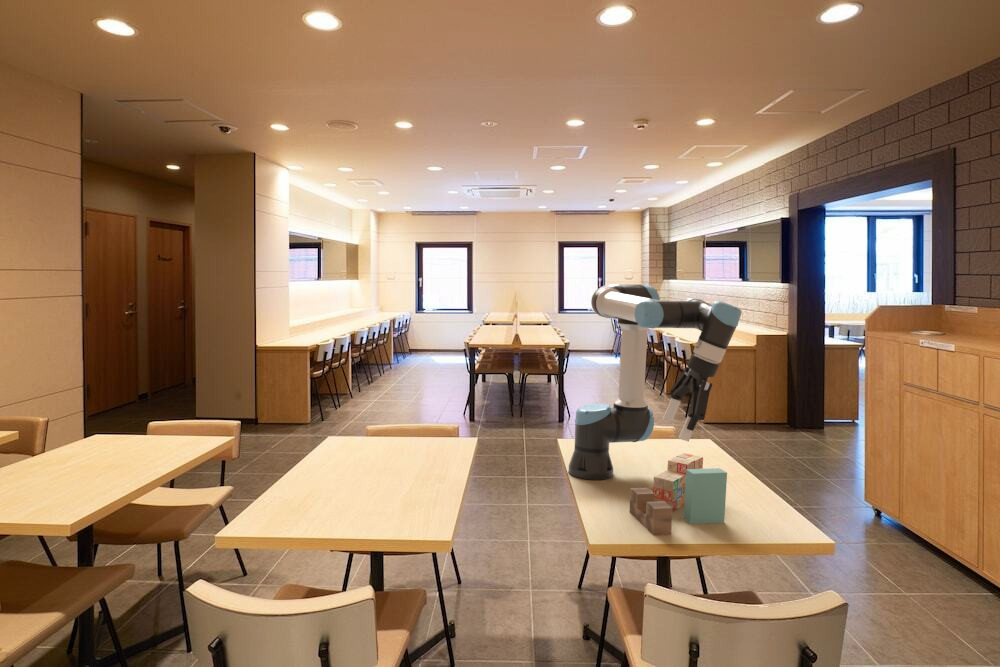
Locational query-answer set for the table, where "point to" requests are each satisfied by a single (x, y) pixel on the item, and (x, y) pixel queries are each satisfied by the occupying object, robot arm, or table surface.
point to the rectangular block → (705, 495)
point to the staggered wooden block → (650, 511)
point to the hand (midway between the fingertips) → (674, 429)
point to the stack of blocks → (675, 480)
